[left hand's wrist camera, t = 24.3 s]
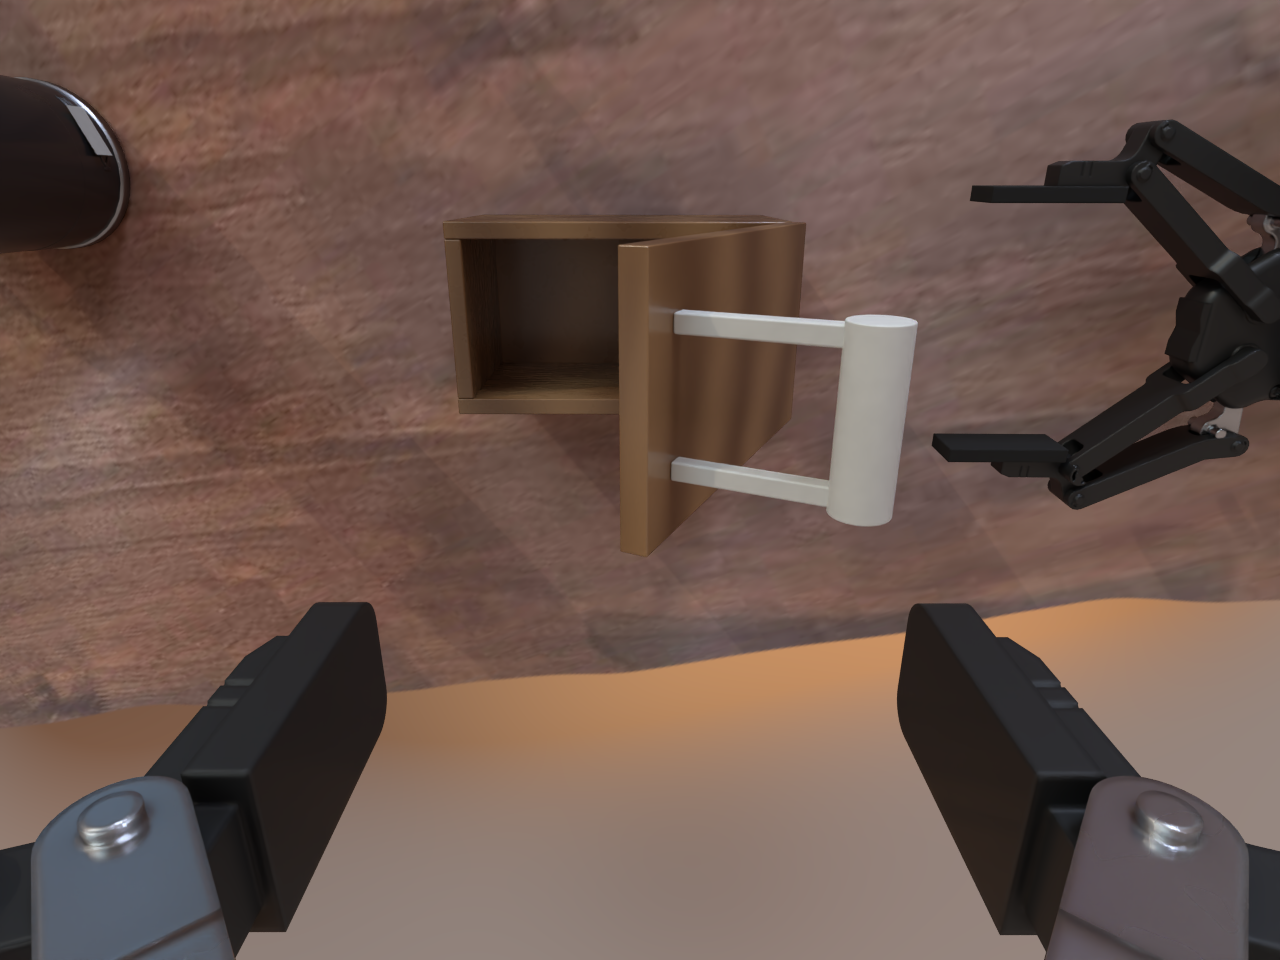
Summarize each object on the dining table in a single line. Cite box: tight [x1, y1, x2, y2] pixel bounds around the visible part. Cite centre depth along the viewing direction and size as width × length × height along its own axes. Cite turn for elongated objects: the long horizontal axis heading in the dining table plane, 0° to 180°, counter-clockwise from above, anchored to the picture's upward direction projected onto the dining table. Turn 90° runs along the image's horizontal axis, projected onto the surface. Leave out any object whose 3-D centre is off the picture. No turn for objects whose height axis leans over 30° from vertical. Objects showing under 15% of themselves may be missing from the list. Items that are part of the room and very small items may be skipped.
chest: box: [443, 215, 790, 414], centre depth 44 cm, size 17×10×10 cm, turn 90°
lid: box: [618, 222, 918, 557], centre depth 29 cm, size 18×10×8 cm
